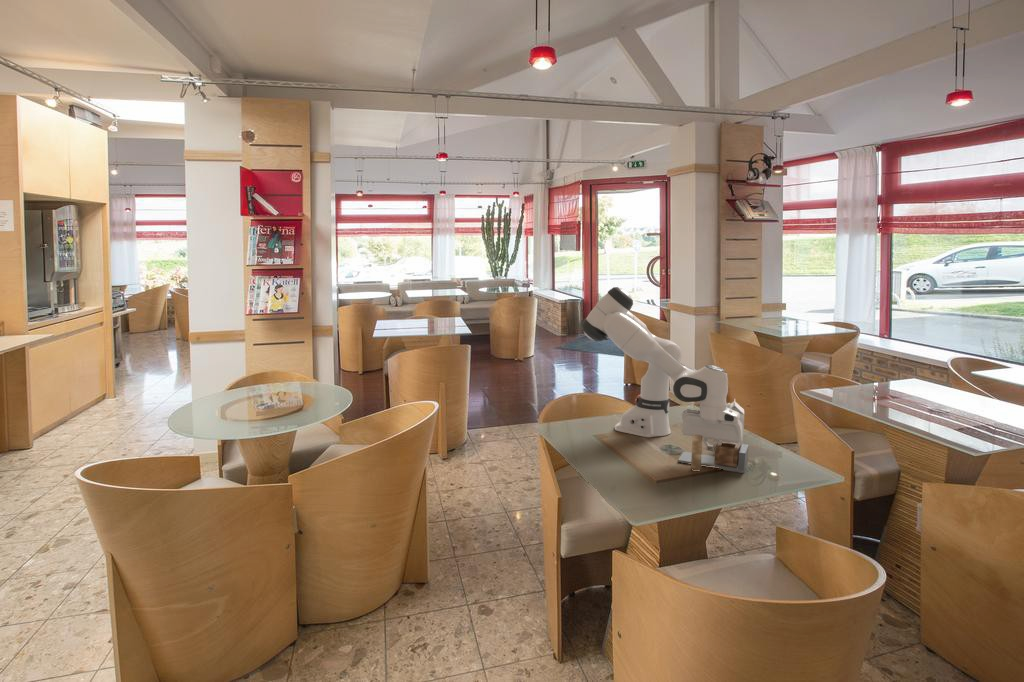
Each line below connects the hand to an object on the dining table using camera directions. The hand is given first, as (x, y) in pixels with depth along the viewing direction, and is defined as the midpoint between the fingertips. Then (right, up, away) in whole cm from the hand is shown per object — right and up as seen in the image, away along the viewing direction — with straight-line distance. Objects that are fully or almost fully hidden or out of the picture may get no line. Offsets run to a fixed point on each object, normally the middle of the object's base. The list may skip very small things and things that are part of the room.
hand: (710, 450), depth 217 cm
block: (+5, -4, -2) cm, 7 cm away
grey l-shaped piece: (+1, -5, +1) cm, 5 cm away
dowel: (-7, -6, -6) cm, 11 cm away
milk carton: (+13, -3, +15) cm, 20 cm away
